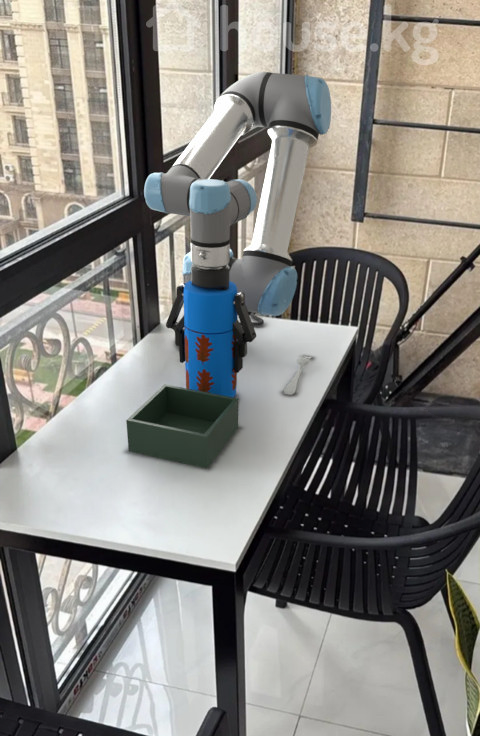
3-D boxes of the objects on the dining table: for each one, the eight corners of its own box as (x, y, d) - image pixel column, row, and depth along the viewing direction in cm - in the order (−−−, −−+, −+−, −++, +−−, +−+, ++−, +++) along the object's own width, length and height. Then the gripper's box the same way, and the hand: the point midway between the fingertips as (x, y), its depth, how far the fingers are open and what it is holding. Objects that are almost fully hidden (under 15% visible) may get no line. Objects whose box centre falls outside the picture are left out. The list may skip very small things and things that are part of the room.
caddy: (165, 413, 156) (164, 384, 153) (238, 428, 153) (238, 398, 149) (128, 451, 143) (126, 420, 139) (207, 468, 139) (206, 436, 136)
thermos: (228, 413, 158) (229, 298, 145) (179, 406, 159) (175, 292, 146) (241, 390, 167) (243, 280, 154) (195, 383, 168) (193, 274, 155)
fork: (281, 402, 168) (282, 392, 166) (302, 356, 184) (303, 346, 182) (294, 404, 167) (294, 394, 166) (314, 358, 183) (314, 348, 182)
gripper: (145, 260, 147) (151, 362, 159) (261, 278, 142) (258, 382, 153) (162, 250, 153) (166, 349, 165) (274, 267, 148) (270, 367, 159)
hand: (211, 365), depth 159 cm, fingers open, 12 cm apart
